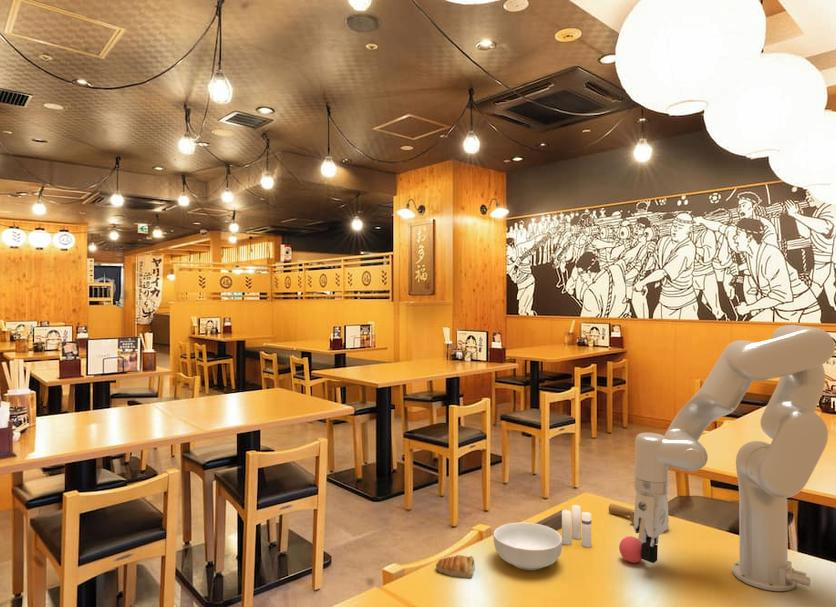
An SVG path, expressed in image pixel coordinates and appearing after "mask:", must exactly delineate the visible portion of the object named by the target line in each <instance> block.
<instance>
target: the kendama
mask: <svg viewBox="0 0 836 607" xmlns="http://www.w3.org/2000/svg"><path fill="white" fill-rule="evenodd" d="M634 510H635V509H632V508H630V507H627V506H626V507H625V506H621V505H618V504H614V503H609V505H608V513H611V514H612V515H619V516H626V517H629V521H630V522H631V523H632V525H633V526H634ZM611 514H610V515H611ZM668 523H669V518H668Z"/></svg>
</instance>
